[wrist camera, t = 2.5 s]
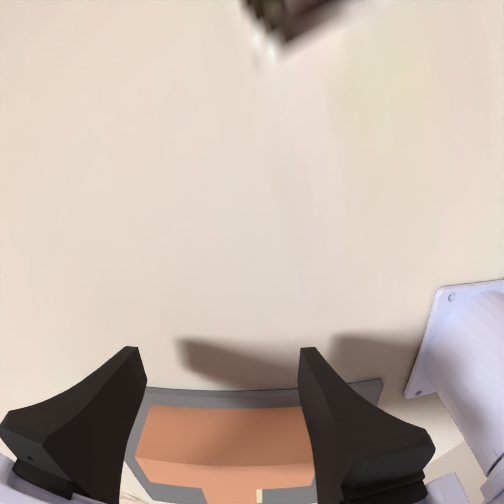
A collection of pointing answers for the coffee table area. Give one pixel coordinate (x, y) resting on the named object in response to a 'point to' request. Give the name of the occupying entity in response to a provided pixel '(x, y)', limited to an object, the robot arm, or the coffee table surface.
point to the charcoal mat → (192, 499)
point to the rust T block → (226, 450)
